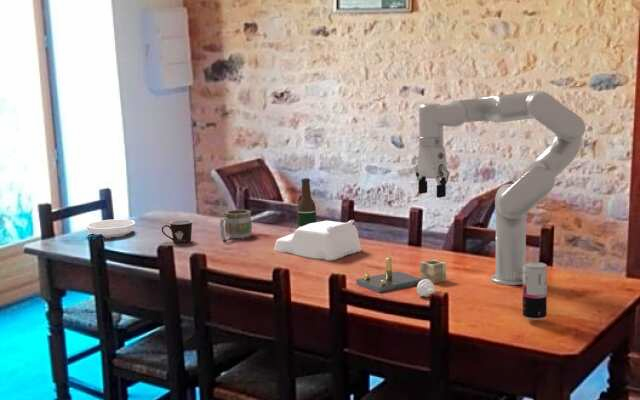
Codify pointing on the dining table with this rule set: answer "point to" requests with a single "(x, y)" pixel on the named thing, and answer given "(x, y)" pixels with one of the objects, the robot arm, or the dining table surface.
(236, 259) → the dining table surface
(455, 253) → the dining table surface
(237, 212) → the mug
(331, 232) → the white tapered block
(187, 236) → the coffee mug
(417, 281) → the pin plate
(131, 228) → the bowl
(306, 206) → the beer bottle
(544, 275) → the beverage can
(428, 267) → the beige patterned cube
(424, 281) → the garlic bulb
